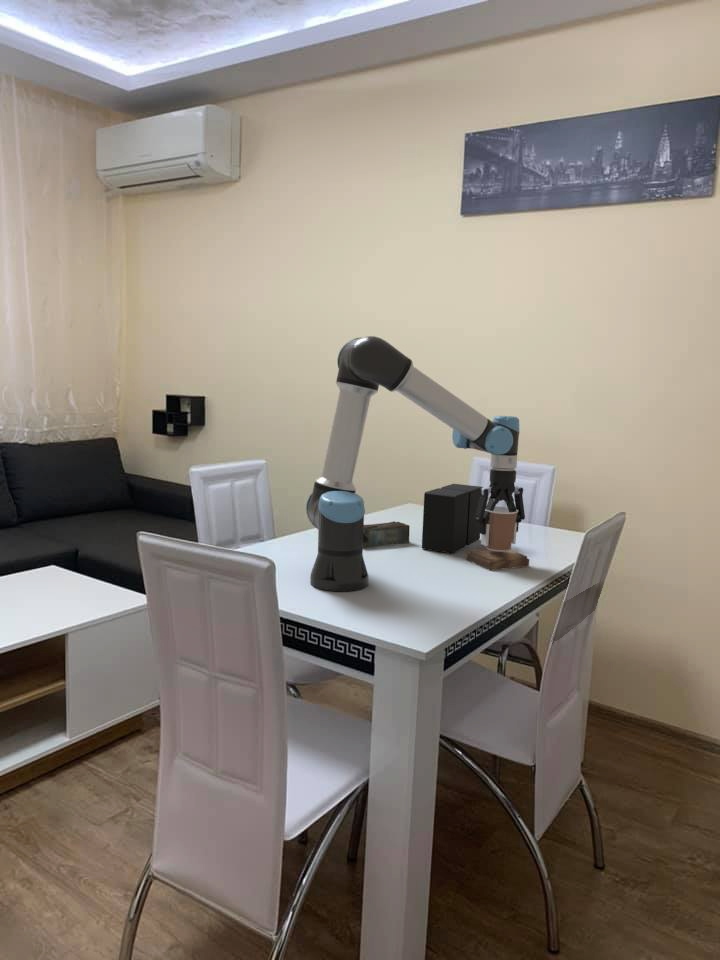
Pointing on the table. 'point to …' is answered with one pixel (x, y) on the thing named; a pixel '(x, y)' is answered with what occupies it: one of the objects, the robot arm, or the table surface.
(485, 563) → the stand
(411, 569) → the table surface
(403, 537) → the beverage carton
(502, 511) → the coffee cup
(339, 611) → the table surface
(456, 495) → the speaker
